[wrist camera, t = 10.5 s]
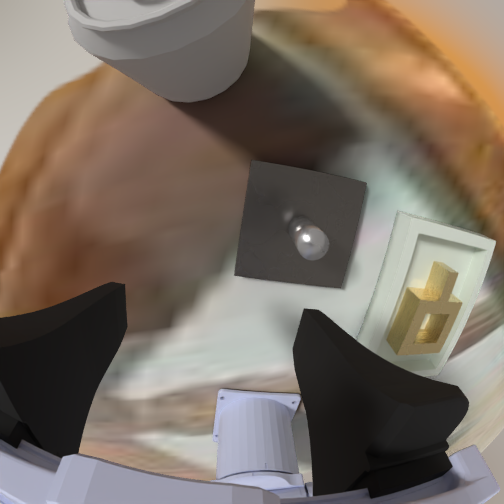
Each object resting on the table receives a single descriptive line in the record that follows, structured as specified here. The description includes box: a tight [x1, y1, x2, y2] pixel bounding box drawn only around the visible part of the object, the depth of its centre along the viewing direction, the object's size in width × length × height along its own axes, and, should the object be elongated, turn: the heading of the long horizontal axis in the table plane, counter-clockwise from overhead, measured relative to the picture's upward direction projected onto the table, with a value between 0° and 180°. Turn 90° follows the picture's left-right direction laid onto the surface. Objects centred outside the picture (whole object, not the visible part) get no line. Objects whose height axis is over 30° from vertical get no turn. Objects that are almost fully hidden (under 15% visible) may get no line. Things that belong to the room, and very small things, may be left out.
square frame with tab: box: [386, 261, 463, 355], centre depth 21 cm, size 8×5×2 cm
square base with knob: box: [234, 160, 367, 288], centre depth 18 cm, size 8×8×4 cm
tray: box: [357, 211, 496, 377], centre depth 22 cm, size 15×11×2 cm
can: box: [64, 0, 255, 103], centre depth 10 cm, size 8×8×12 cm
